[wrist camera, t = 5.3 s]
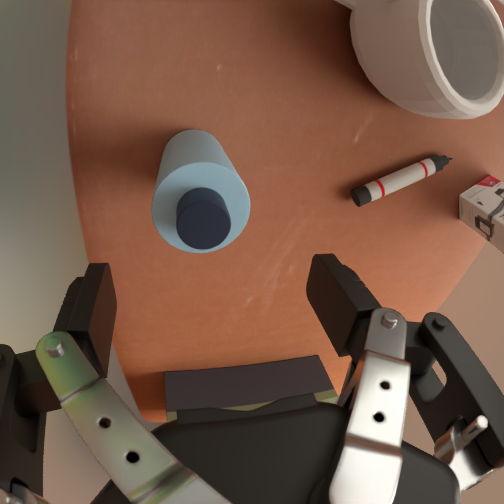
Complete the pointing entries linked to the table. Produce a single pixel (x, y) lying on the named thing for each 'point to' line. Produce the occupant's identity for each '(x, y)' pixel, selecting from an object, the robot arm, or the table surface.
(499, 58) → the mug
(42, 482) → the robot arm
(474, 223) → the ink box
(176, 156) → the water bottle
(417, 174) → the marker
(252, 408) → the lidded gift box
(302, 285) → the table surface
